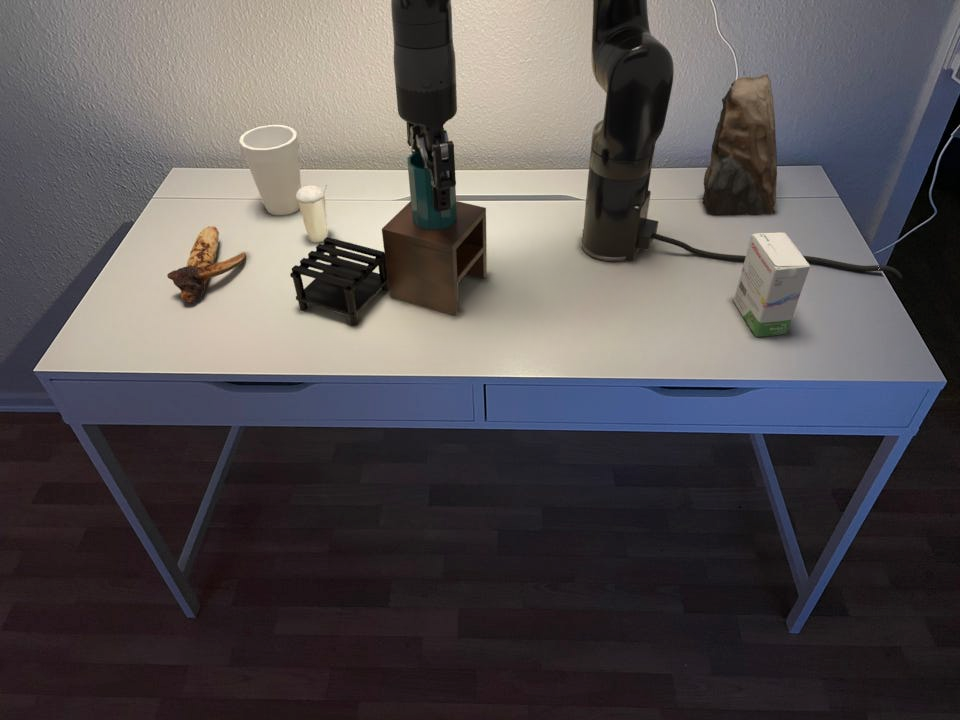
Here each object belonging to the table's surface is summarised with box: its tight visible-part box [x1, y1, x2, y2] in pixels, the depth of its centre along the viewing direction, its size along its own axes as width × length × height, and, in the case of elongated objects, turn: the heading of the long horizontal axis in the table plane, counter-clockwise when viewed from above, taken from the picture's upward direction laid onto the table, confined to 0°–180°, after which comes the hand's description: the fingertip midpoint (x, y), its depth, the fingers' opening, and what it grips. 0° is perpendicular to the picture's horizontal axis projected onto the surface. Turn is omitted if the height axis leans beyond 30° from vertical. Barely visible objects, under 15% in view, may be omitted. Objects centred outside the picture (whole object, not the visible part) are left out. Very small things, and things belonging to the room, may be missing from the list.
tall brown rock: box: [701, 73, 778, 216], centre depth 121 cm, size 13×13×20 cm
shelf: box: [381, 200, 488, 317], centre depth 106 cm, size 11×11×12 cm
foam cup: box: [238, 124, 302, 216], centre depth 124 cm, size 10×9×13 cm
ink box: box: [732, 231, 811, 338], centre depth 99 cm, size 8×5×12 cm, turn 6°
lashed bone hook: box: [166, 226, 246, 303], centre depth 112 cm, size 9×5×18 cm
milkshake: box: [296, 184, 329, 244], centre depth 117 cm, size 4×5×10 cm
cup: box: [406, 151, 457, 230], centre depth 99 cm, size 6×6×9 cm
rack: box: [289, 236, 389, 327], centre depth 106 cm, size 10×10×7 cm
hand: (432, 194), depth 99 cm, fingers open, 8 cm apart
